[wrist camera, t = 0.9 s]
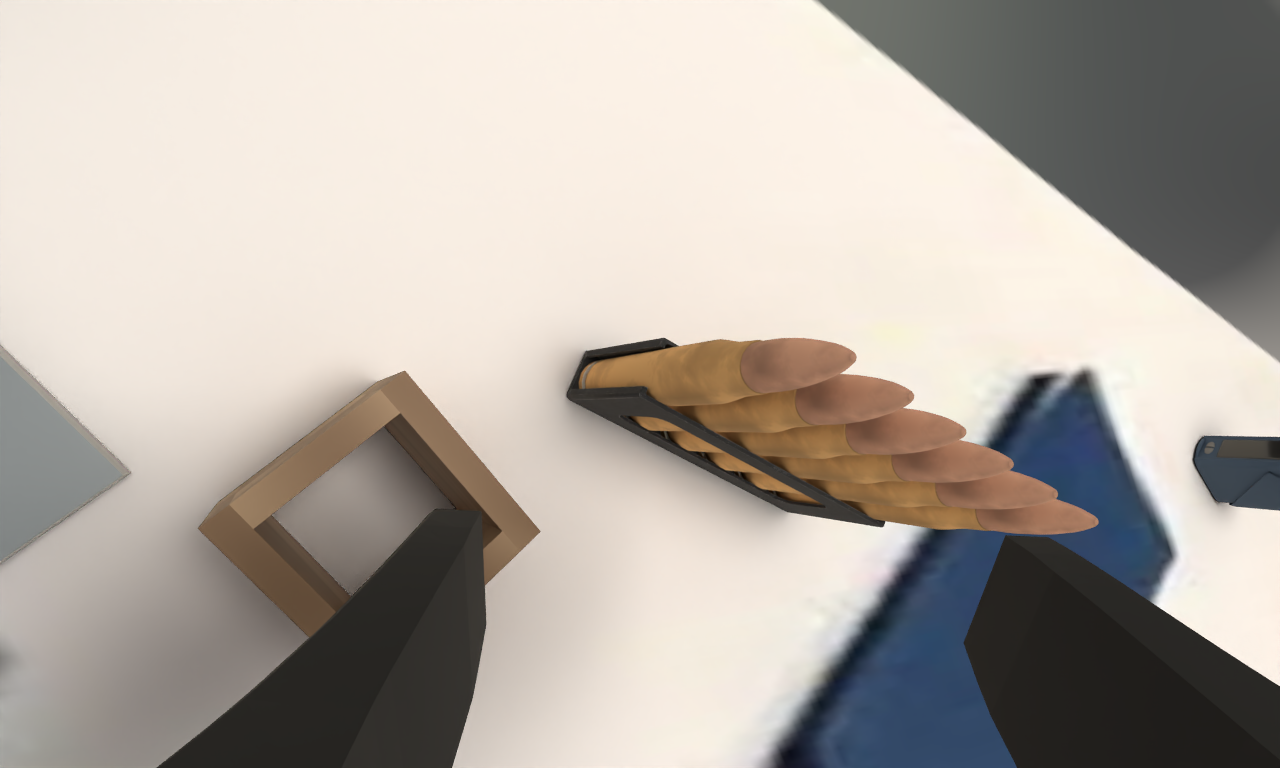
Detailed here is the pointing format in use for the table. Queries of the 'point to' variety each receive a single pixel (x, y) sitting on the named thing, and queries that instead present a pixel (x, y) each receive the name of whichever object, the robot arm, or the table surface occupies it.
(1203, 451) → the vaping device
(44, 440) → the gray peg stand
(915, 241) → the table surface
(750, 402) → the ammunition clip
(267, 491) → the walnut frame
